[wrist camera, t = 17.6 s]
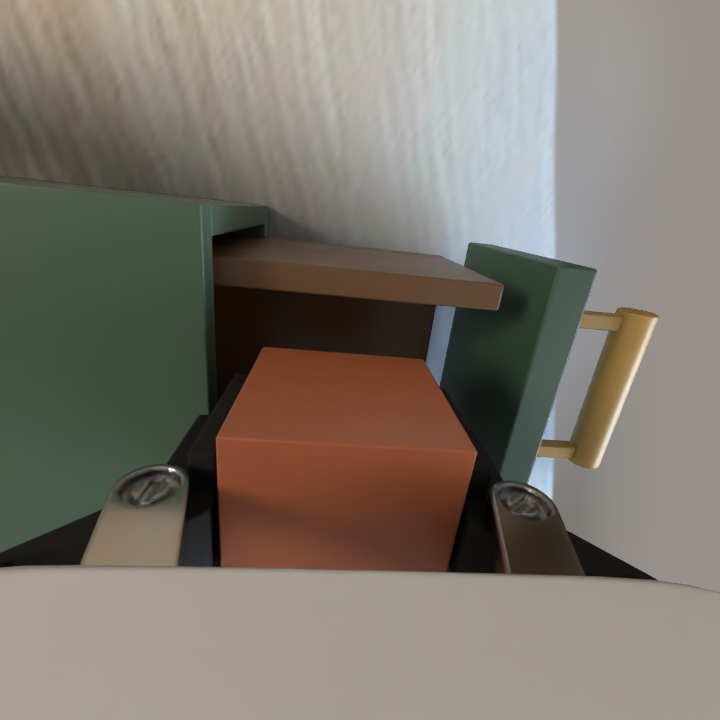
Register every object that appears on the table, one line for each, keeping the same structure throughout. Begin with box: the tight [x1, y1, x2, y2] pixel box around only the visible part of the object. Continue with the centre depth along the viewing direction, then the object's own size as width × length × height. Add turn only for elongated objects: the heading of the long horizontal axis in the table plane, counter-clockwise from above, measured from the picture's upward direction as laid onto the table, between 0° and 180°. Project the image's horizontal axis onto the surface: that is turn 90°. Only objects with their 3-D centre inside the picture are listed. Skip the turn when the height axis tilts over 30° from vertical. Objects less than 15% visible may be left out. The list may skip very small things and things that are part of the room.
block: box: [216, 347, 477, 572], centre depth 10 cm, size 5×5×5 cm
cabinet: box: [0, 175, 268, 553], centre depth 15 cm, size 15×12×10 cm
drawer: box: [212, 233, 659, 484], centre depth 16 cm, size 19×10×8 cm, turn 84°
